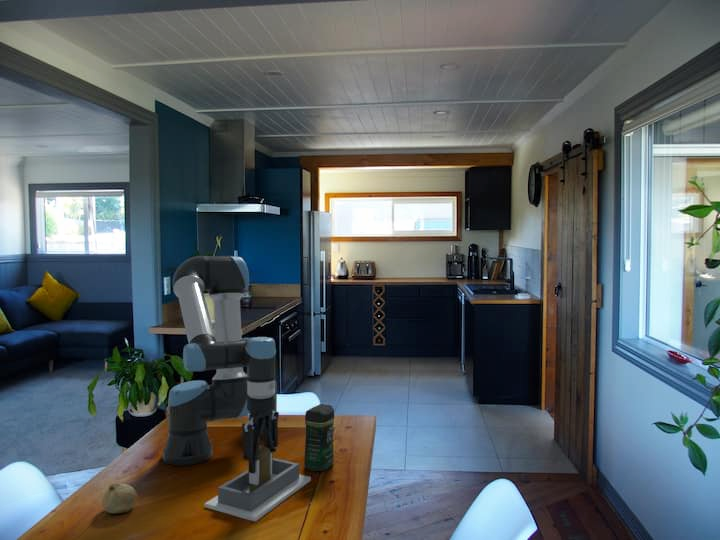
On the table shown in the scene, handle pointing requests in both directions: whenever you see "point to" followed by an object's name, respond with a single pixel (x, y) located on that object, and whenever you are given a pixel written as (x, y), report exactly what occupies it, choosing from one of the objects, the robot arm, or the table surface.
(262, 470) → the cork
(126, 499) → the onion
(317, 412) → the coffee jar
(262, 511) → the slot well
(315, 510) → the table surface
